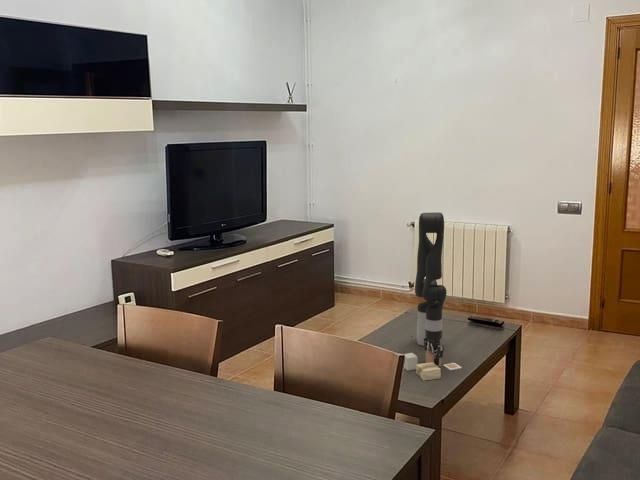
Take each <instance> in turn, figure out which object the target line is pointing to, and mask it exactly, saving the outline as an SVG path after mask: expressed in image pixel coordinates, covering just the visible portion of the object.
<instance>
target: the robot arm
mask: <svg viewBox="0 0 640 480" xmlns="http://www.w3.org/2000/svg"><path fill="white" fill-rule="evenodd" d="M444 233H445V218H444V215H443V213H442V212H423V213H420V215H419V218H418V245H417V247H418V248H417V257H416V259H417V261H416V276H415V282H414V294H415V296H416V297H417V298H423V300H424V301H423V302H420V303H418V305H417V323H416V343H417V344H418V345H419V346H422V347H424V351H425V352H426V351H431V350H432V353H434V364H435V365H437V366H438V365H439V358H441V359H442V358H443V355H444V350H445V347H444V345H441V340H442V338H443V307H444V303H445V301H446V299H447V293H448V292H447V288H446V286H444V285H443V284H438V281H439V280H441V279H442V277H443V272H442V269H443V267H442V266H443V265H442V264H443V263H442V260H443V259H442V258H443V256H442V255H443V249H444V248H443V247H444ZM428 234H436V237H435V241H434V243H433V242H432V241H431V239H429V237H428ZM434 350H437V351H434ZM436 353H437V355H436ZM438 367H439V366H438Z"/></svg>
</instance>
